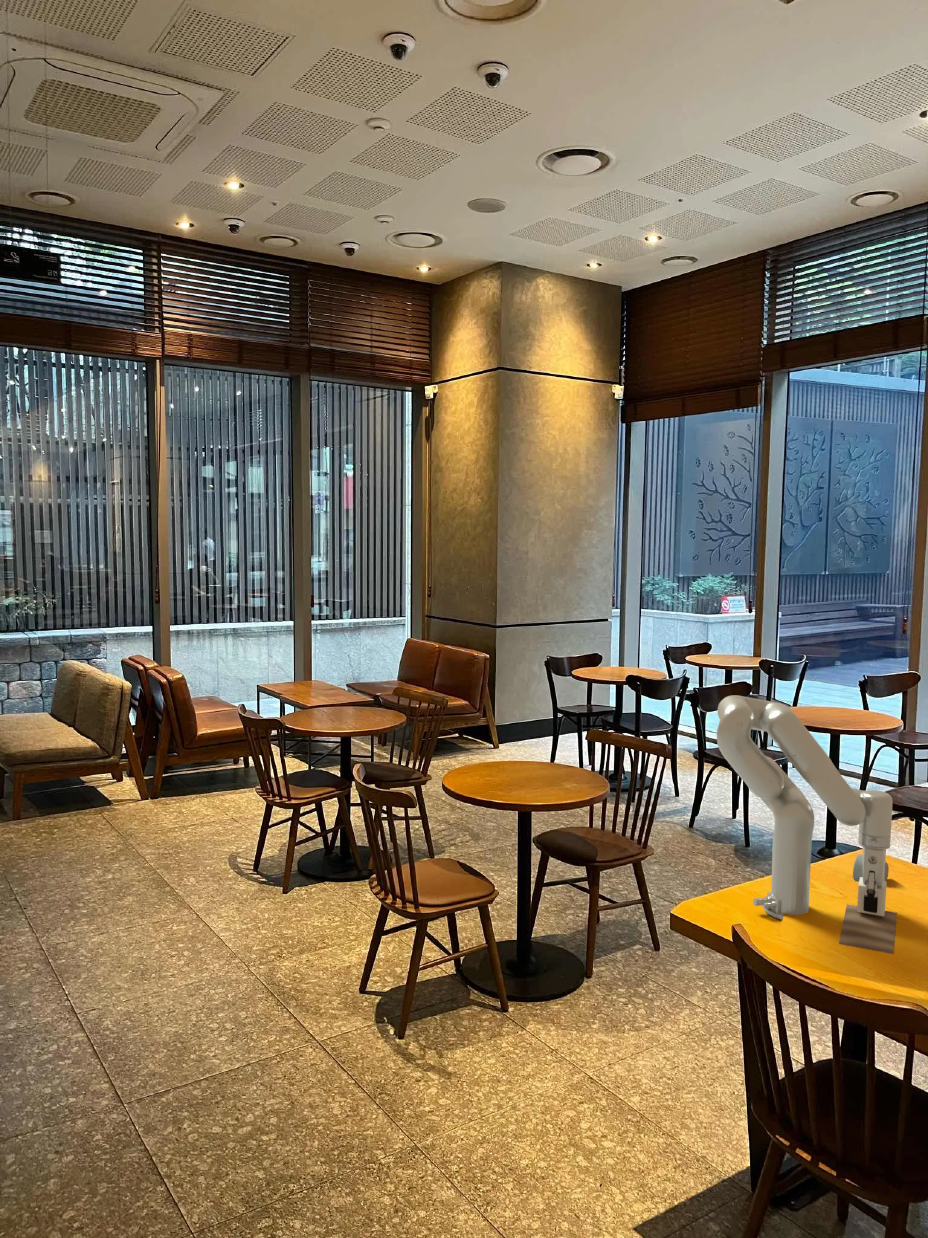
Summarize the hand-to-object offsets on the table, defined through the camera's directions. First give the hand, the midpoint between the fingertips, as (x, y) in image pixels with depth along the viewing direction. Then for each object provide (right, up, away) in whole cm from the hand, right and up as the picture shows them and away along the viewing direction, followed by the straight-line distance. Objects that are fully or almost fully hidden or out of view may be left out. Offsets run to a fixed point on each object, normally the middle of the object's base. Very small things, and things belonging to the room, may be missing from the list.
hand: (870, 906), depth 241 cm
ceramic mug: (+11, -1, +25) cm, 28 cm away
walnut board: (-4, -4, -9) cm, 11 cm away
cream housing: (0, -1, 0) cm, 1 cm away
